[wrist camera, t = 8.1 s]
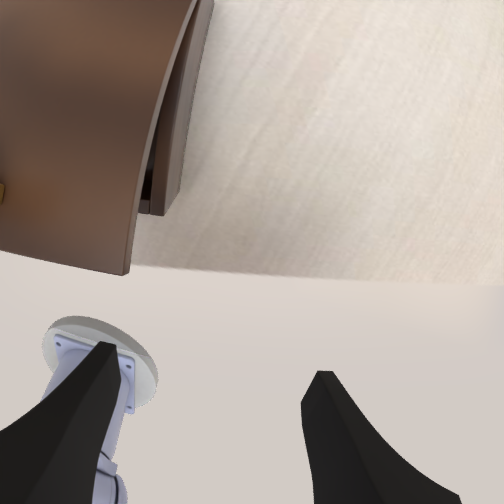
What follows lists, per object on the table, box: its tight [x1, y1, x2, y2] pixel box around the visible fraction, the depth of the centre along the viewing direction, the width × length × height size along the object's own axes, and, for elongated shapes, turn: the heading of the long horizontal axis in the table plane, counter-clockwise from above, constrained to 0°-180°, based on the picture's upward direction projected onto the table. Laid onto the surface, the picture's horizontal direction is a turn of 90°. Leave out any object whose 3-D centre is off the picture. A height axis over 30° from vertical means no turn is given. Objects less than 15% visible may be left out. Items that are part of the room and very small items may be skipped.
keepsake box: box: [138, 0, 214, 216], centre depth 12 cm, size 11×14×4 cm
